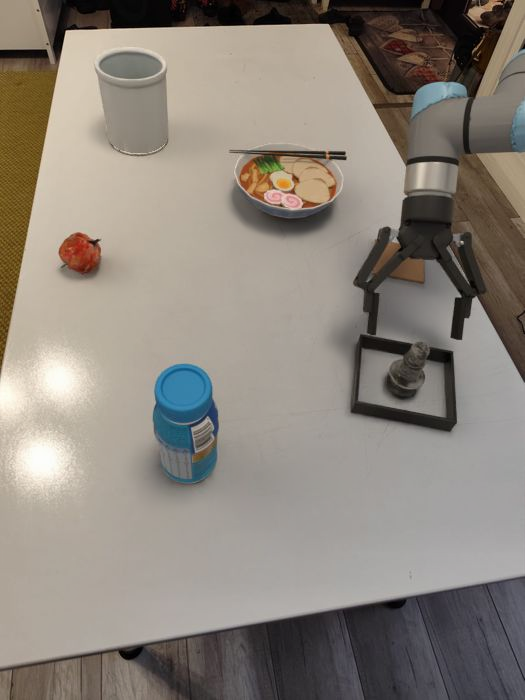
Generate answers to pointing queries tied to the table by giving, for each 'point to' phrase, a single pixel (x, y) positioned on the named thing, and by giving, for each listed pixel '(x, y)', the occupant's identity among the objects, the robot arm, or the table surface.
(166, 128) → the utensil holder
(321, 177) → the ramen bowl
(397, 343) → the open square frame
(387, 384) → the grey chess piece
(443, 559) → the table surface
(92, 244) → the pomegranate
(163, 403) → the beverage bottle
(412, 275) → the cork mat
